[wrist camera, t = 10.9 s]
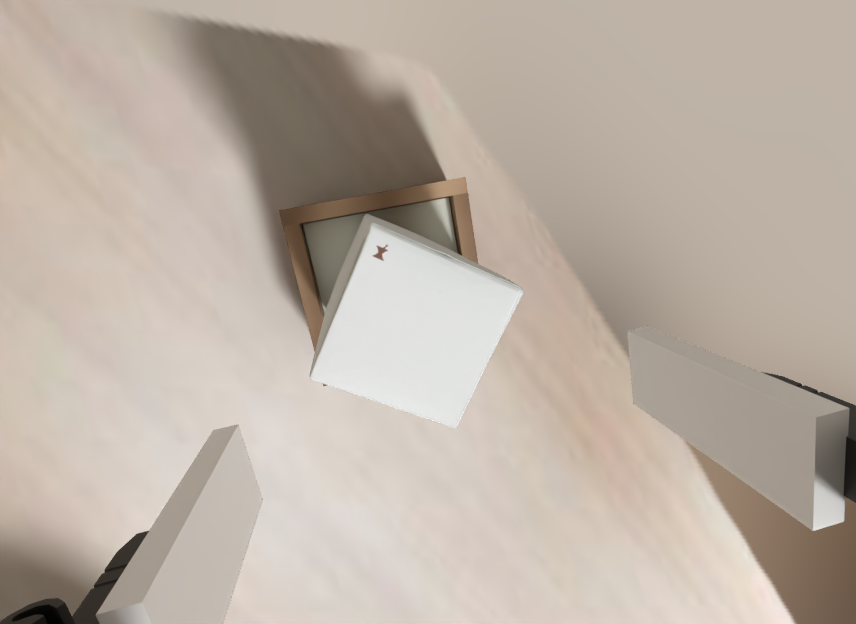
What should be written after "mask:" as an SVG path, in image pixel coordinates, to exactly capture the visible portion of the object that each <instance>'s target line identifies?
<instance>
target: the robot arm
mask: <svg viewBox="0 0 856 624" xmlns="http://www.w3.org/2000/svg"><path fill="white" fill-rule="evenodd" d="M627 333H628V345H629V357H630V369H631V381H632V393H633V404H635V405H636V406H638V407H639V408H640V409H642V410H643V411H645V412H646V413H647V414H649V415H650V416H652V417H653V418H655V419H656V420H657V421H659V422H660V423H662V424H663V425H664V426H666V427H667V428H669V429H670V430H671V431H673V432H674V433H676V434H677V435H678V436H680V437H681V438H683V439H684V440H686V441H687V442H688V443H690V444H691V445H693V446H694V447H696V448H697V449H698V450H700V451H701V452H702V453H704V454H705V455H707V456H708V457H710V458H711V459H712V460H714V461H715V462H717V463H718V464H720V465H721V466H722V467H724V468H725V469H727V470H728V471H729V472H731V473H732V474H733V475H735V476H736V477H738V478H739V479H741V480H742V481H743V482H745V483H746V484H748V485H749V486H750V487H752V488H753V489H755V490H756V491H758V492H759V493H760V494H762V495H763V496H765V497H766V498H767V499H769V500H770V501H772V502H773V503H774V504H776V505H777V506H779V507H780V508H781V509H783V510H784V511H786V512H787V513H788V514H790V515H791V516H793V517H794V518H796V519H797V520H799V521H800V522H801V523H803V524H804V525H805V526H807V527H808V528H810V529H811V530H813V531H814V530H818V529H821V528H824V527H828V526H830V525H834V524H838V523H841V522H844V509H845V497H847V498H849V499H850V500H852V501H854V502H856V406H855V405H853V404H850V403H848V402H845V401H843V400H840V399H838V398H835V397H833V396H830V395H828V394H825V393H823V392H820V393H818V391H817V390H815V389H813V388H810V387H808V386H802V385H801V384H800V383H797V382H795V381H793V380H790V379H788V378H785V377H782V376H778V375H773V374H768V373H764V372H759V371H757V370H755V369H752V368H750V367H747V366H745V365H742V364H740V363H737V362H735V361H733V360H730V359H727V358H725V357H723V356H720V355H718V354H715V353H713V352H711V351H708V350H706V349H703V348H701V347H698V346H696V345H693V344H691V343H688V342H686V341H684V340H681V339H678V338H676V337H674V336H671V335H669V334H666V333H664V332H661V331H659V330H657V329H654V328H652V327H649V326H646V327H642V328H637V329H633V330H629V331H627ZM262 500H263V498H262V495H261V492H260V489H259V486H258V483H257V480H256V477H255V474H254V471H253V468H252V465H251V462H250V459H249V456H248V452H247V449H246V446H245V443H244V440H243V437H242V434H241V431H240V428H239V425H234V426H230V427H226V428H221V429H217V430H213V432H212V433H211V435H210V436H209V438H208V440H207V441H206V443H205V444H204V446H203V447H202V449H201V451H200V452H199V454H198V455H197V457H196V458H195V460H194V461H193V463H192V465H191V466H190V468H189V469H188V471H187V472H186V474H185V476H184V477H183V479H182V480H181V482H180V483H179V485H178V487H177V488H176V490H175V491H174V493H173V494H172V496H171V498H170V499H169V501H168V502H167V504H166V505H165V507H164V508H163V510H162V512H161V513H160V515H159V516H158V518H157V519H156V521H155V523H154V524H153V526H152V527H151V529H150V530H149V531H146V532H142V533H138V534H136V535H135V536H134V537H133V538H132V539H131V540H130V541H129V542H127V543H126V544H125V545H124V546H123V547H122V548H121V549H120V550H119V551H118V552H117V553H116V554H115V556H114V557H113V559H112V560H111V562H110V563H109V564H108V566H107V567H106V569H105V573H103V574H102V575H101V576H100V577H99V579H98V580H97V582H96V583H95V585H94V589H91V590H90V592H89V593H88V595H87V596H86V598H85V599H84V601H83V602H82V603H81V605H80V606H79V608H78V609H77V611H76V612H75V614H74V615H73V616H71V614H70V612H69V610H68V608H67V606H66V604H65V602H63V601H62V600H60V599H59V598H56V599H45V600H42V601H39V602H36V603H33V604H30V605H28V606H26V607H24V608H22V609H20V610H18V611H16V612H14V613H13V614H11V615H9V616H8V617H6V618H5V619H3V620H2V621H1V622H0V624H223V623H224V620H225V616H226V613H227V610H228V607H229V604H230V601H231V598H232V594H233V591H234V588H235V585H236V582H237V579H238V576H239V572H240V569H241V566H242V563H243V560H244V557H245V554H246V551H247V547H248V544H249V541H250V538H251V535H252V532H253V529H254V525H255V522H256V519H257V516H258V513H259V510H260V507H261V503H262Z"/></svg>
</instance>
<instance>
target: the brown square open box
mask: <svg viewBox="0 0 856 624" xmlns="http://www.w3.org/2000/svg"><path fill="white" fill-rule="evenodd" d="M279 212H280V216H281V220H282V224H283V228H284V232H285V236H286V240H287V244H288V248H289V252H290V256H291V260H292V264H293V268H294V271H295V275H296V279H297V283H298V287H299V291H300V295H301V299H302V303H303V307H304V311H305V315H306V319H307V323H308V327H309V331H310V335H311V339H312V343H313V347H314V351H315V350H316V346H317V342H318V338H319V335H320V331H321V327H322V323H323V319H324V315H325V310H326V307H327V304H328V301H329V299H330V296H331V293H332V291H333V288H334V285H335V283H336V280H337V278H338V275H339V273H340V270H341V268H342V265H343V263H344V260H345V258H346V256H347V253H348V251H349V249H350V246H351V244H352V242H353V240H354V237H355V235H356V233H357V230H358V228H359V226H360V224H361V221H362V219H363V217H364V215H365V214H366V213H368V214H370V215H372V216H375V217H377V218H380V219H382V220H385V221H387V222H390V223H392V224H395V225H397V226H399V227H402V228H404V229H407V230H409V231H411V232H414V233H416V234H418V235H420V236H423V237H425V238H427V239H429V240H431V241H433V242H435V243H438V244H440V245H442V246H444V247H446V248H448V249H450V250H452V251H454V252H456V253H458V254H460V255H461V256H463V257H465V258H467V259H469V260H471V261H473V262H475V263H477V264H478V259H477V252H476V246H475V239H474V232H473V225H472V219H471V212H470V205H469V198H468V191H467V185H466V178H465V177H463V178H457V179H452V180H446V181H441V182H435V183H429V184H424V185H418V186H413V187H407V188H402V189H396V190H390V191H385V192H379V193H374V194H368V195H362V196H357V197H351V198H346V199H340V200H335V201H329V202H323V203H318V204H312V205H307V206H301V207H295V208H290V209H284V210H279ZM323 386H327V385H326V384H323Z"/></svg>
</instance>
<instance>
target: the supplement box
mask: <svg viewBox="0 0 856 624" xmlns="http://www.w3.org/2000/svg"><path fill="white" fill-rule="evenodd" d="M522 295H523V289H522V288H521V287H520V286H518V285H517V284H515V283H513V282H512V281H510V280H508V279H506V278H505V277H503V276H501V275H499V274H497V273H495V272H493V271H491V270H489V269H487V268H485V267H483V266H481V265H479V264H477V263H475V262H473V261H471V260H469V259H467V258H465V257H463V256H461V255H460V254H458V253H456V252H454V251H452V250H450V249H448V248H446V247H444V246H442V245H440V244H438V243H435V242H433V241H431V240H429V239H427V238H425V237H423V236H420V235H418V234H416V233H414V232H411V231H409V230H407V229H404V228H402V227H399V226H397V225H395V224H392V223H390V222H387V221H385V220H382V219H380V218H377V217H375V216H372V215H370V214H368V213H366V214H365V215H364V217H363V219H362V221H361V224H360V226H359V228H358V230H357V233H356V235H355V237H354V240H353V242H352V244H351V246H350V249H349V251H348V253H347V256H346V258H345V260H344V263H343V265H342V268H341V270H340V273H339V275H338V278H337V280H336V283H335V285H334V288H333V291H332V293H331V296H330V299H329V301H328V304H327V307H326V310H325V315H324V319H323V323H322V327H321V331H320V335H319V338H318V342H317V346H316V350H315V354H314V359H313V363H312V367H311V371H310V379H312V380H314V381H317V382H320V383H323V384H326V385H329V386H332V387H335V388H337V389H340V390H343V391H346V392H349V393H352V394H355V395H358V396H360V397H363V398H366V399H369V400H372V401H375V402H378V403H381V404H384V405H387V406H390V407H393V408H396V409H399V410H401V411H404V412H407V413H410V414H413V415H416V416H419V417H422V418H425V419H428V420H431V421H434V422H437V423H440V424H443V425H446V426H449V427H451V428H457V426H458V423H459V421H460V419H461V417H462V415H463V413H464V411H465V409H466V407H467V404H468V402H469V400H470V398H471V396H472V394H473V392H474V390H475V388H476V386H477V384H478V381H479V379H480V377H481V375H482V373H483V371H484V369H485V367H486V365H487V363H488V361H489V359H490V357H491V355H492V353H493V352H494V350H495V348H496V346H497V344H498V342H499V340H500V338H501V336H502V334H503V332H504V330H505V328H506V326H507V324H508V322H509V320H510V318H511V316H512V314H513V312H514V310H515V308H516V306H517V304H518V303H519V301H520V299H521V297H522Z"/></svg>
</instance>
